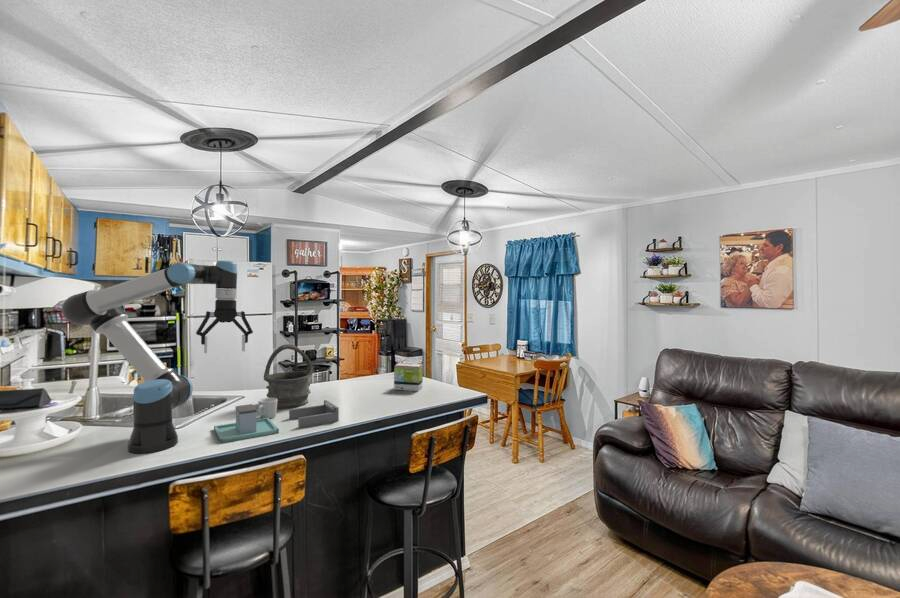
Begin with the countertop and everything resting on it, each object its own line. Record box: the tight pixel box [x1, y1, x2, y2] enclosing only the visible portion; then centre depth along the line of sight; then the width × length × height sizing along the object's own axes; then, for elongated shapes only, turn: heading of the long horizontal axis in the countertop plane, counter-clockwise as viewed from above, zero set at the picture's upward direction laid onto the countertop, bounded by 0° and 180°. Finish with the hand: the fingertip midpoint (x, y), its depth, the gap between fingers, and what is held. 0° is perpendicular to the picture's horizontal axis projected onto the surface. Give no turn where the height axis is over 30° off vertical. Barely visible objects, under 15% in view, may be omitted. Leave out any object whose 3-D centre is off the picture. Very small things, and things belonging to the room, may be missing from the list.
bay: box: [288, 399, 340, 429], centre depth 189 cm, size 17×16×6 cm
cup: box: [256, 397, 278, 419], centre depth 191 cm, size 11×8×8 cm
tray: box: [213, 418, 280, 444], centre depth 173 cm, size 21×19×2 cm
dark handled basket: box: [263, 343, 315, 409], centre depth 216 cm, size 22×23×30 cm
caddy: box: [235, 403, 258, 435], centre depth 173 cm, size 6×10×9 cm, turn 35°
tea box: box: [393, 362, 424, 392], centre depth 250 cm, size 15×10×15 cm, turn 80°
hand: (224, 351), depth 172 cm, fingers open, 13 cm apart
